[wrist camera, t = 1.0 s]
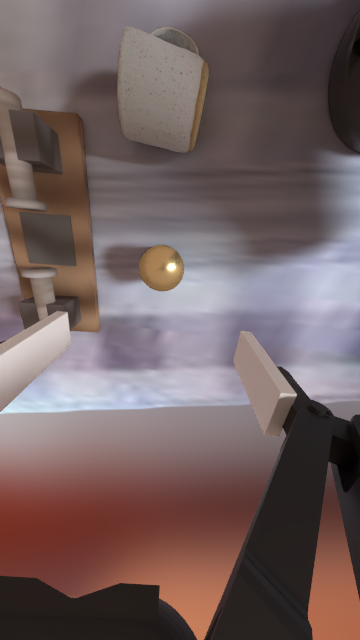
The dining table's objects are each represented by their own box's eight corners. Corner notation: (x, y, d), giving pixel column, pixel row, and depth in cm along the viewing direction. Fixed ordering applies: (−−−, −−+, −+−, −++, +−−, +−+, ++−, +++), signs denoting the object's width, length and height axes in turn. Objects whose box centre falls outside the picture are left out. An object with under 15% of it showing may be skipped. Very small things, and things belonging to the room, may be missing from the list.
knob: (166, 235, 29) (162, 234, 23) (190, 264, 31) (193, 271, 24) (140, 261, 30) (129, 266, 24) (164, 287, 32) (160, 299, 25)
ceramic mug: (192, 165, 26) (198, 135, 19) (129, 151, 25) (110, 113, 18) (212, 53, 22) (229, -39, 15) (139, 32, 22) (120, -74, 14)
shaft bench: (-12, 111, 24) (-78, 66, 18) (81, 119, 24) (48, 78, 18) (36, 325, 34) (4, 344, 28) (100, 329, 35) (83, 348, 28)
